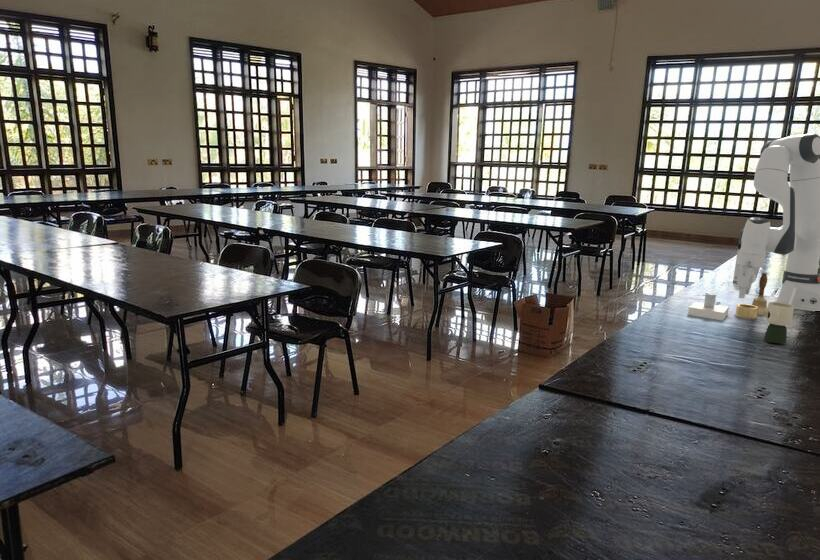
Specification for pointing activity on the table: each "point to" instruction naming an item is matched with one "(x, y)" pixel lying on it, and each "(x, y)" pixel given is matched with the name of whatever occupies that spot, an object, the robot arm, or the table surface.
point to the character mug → (778, 321)
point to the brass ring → (746, 311)
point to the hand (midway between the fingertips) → (743, 295)
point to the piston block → (708, 308)
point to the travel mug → (737, 267)
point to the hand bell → (761, 296)
